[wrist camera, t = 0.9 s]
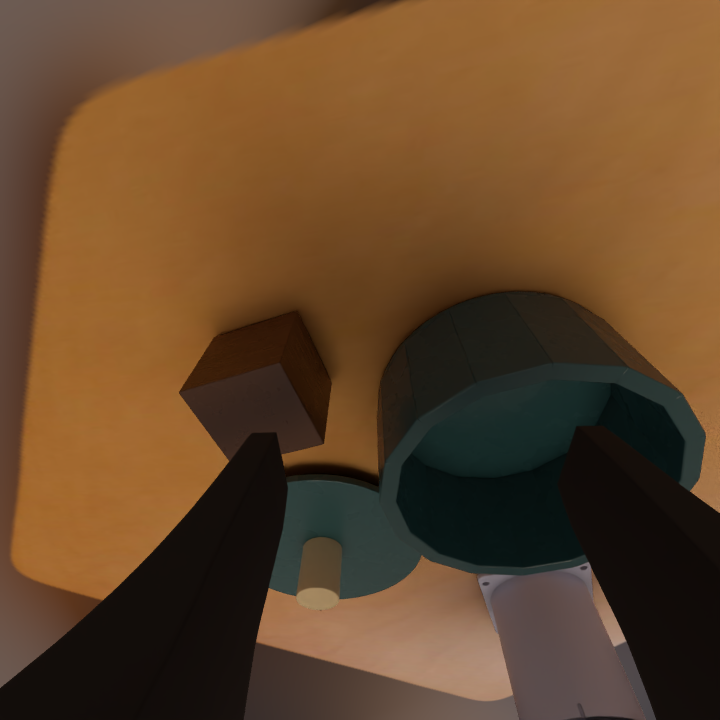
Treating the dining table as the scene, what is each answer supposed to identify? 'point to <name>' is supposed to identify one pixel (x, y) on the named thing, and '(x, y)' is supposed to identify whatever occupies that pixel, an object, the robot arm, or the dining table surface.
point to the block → (261, 386)
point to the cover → (337, 542)
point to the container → (513, 428)
